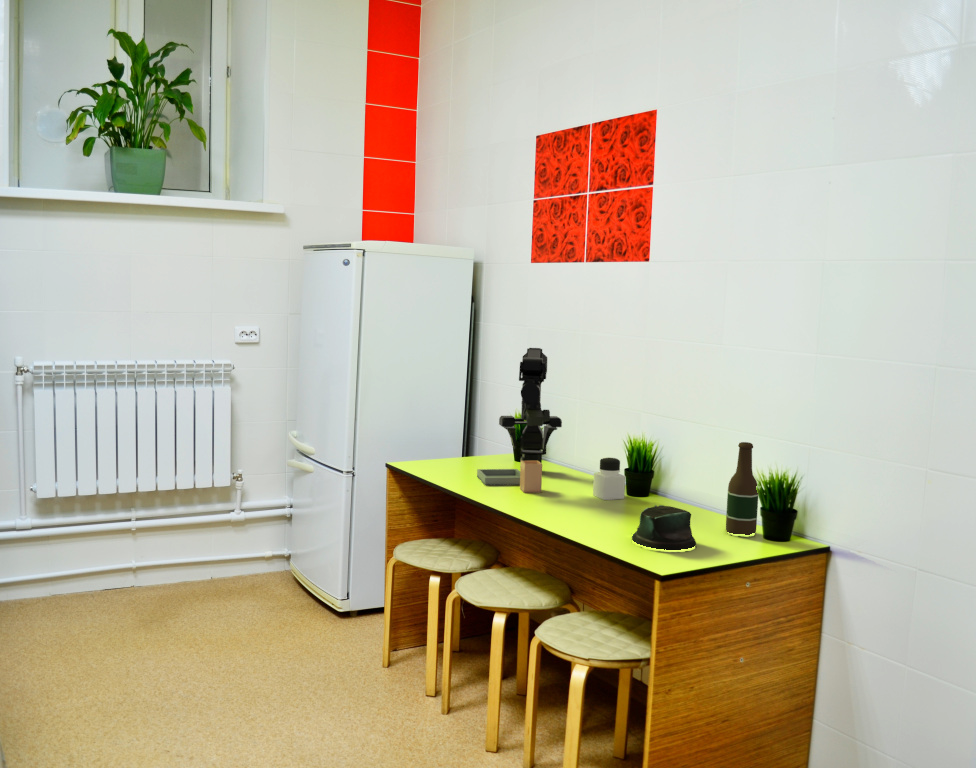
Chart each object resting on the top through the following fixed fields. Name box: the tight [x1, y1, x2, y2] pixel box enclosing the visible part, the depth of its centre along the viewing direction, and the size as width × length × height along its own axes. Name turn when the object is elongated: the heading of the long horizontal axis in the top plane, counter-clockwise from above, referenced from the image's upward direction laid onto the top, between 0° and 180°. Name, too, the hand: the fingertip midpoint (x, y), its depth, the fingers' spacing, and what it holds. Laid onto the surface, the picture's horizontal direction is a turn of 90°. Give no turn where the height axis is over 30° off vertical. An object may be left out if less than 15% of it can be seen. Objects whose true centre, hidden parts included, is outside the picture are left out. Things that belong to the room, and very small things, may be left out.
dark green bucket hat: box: [631, 504, 697, 550], centre depth 210 cm, size 20×20×9 cm
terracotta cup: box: [519, 460, 543, 494], centre depth 264 cm, size 6×6×9 cm
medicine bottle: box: [592, 457, 626, 501], centre depth 259 cm, size 7×7×12 cm
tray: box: [476, 468, 520, 486], centre depth 278 cm, size 14×14×2 cm
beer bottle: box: [725, 441, 759, 535], centre depth 220 cm, size 8×8×24 cm
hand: (529, 449), depth 263 cm, fingers open, 9 cm apart
